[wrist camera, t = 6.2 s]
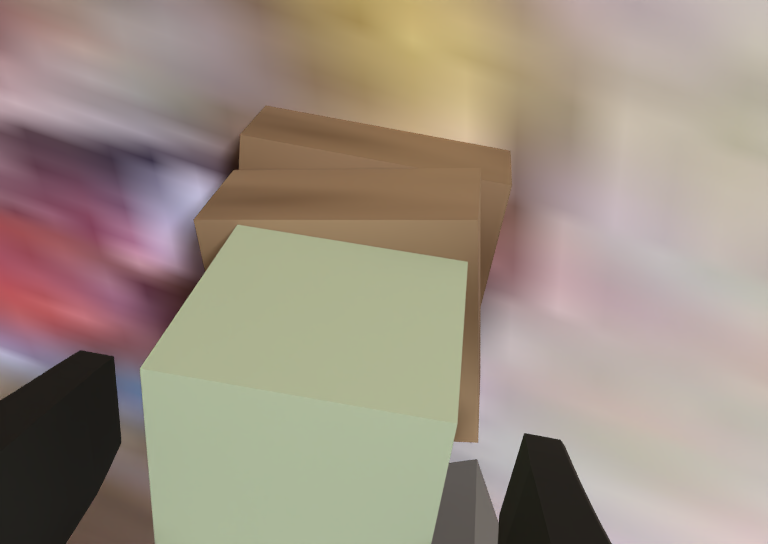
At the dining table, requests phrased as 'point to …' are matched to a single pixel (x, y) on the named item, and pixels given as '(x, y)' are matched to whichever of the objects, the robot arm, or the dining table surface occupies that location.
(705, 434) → the dining table surface
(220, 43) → the dining table surface
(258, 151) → the base slab
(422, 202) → the top slab
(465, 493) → the charcoal block
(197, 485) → the green cube
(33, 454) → the robot arm
